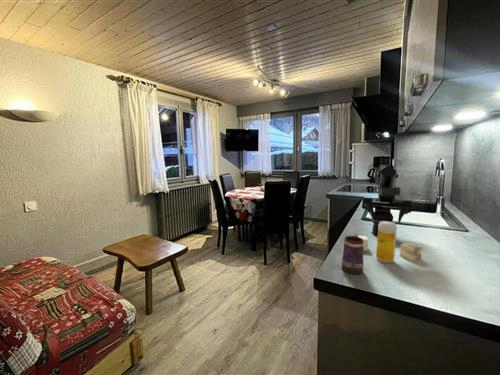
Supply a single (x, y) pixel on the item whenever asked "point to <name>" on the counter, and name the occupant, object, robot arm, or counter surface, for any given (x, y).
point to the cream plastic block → (364, 242)
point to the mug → (353, 255)
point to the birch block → (410, 251)
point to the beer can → (386, 241)
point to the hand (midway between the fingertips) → (386, 221)
